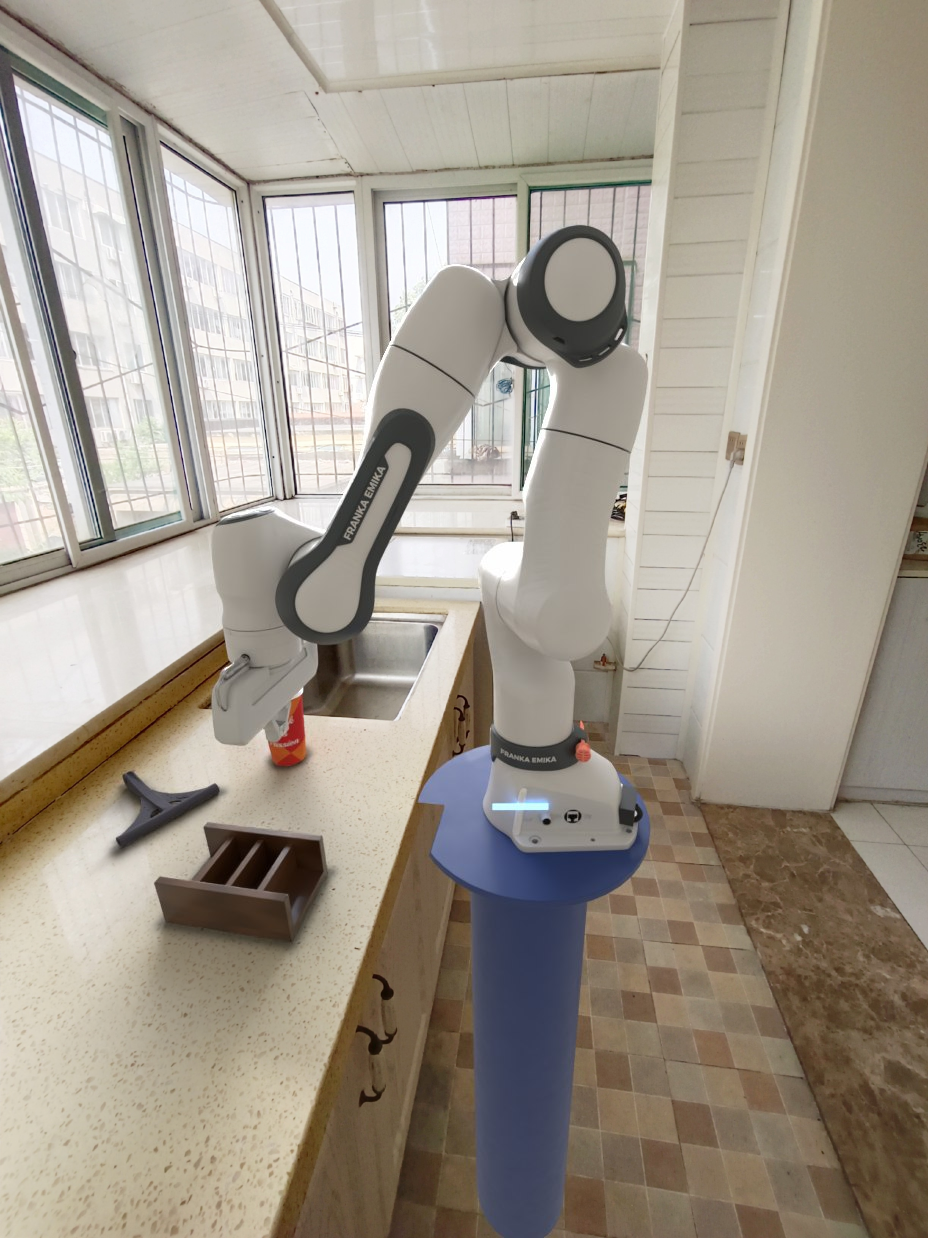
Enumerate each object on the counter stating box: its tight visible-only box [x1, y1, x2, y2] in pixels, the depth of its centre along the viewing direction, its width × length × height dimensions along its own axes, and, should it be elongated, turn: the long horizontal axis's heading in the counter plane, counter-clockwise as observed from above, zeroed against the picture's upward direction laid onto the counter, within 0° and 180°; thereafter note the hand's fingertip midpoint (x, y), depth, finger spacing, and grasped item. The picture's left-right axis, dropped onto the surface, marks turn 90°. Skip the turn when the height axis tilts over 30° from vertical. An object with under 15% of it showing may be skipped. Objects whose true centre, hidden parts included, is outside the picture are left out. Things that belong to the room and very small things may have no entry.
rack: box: [153, 821, 329, 943], centre depth 66 cm, size 16×10×6 cm, turn 80°
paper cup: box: [267, 687, 307, 767], centre depth 91 cm, size 8×8×14 cm
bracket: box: [115, 769, 220, 849], centre depth 83 cm, size 14×15×3 cm
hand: (278, 735), depth 72 cm, fingers closed
